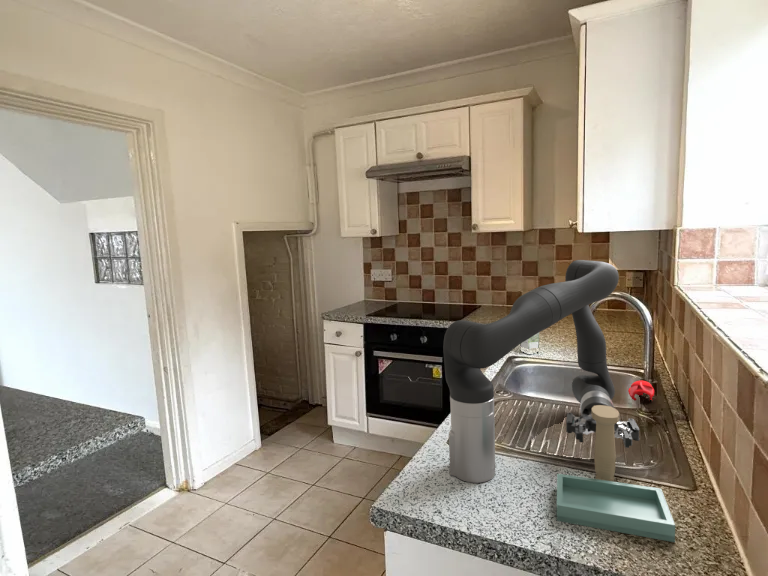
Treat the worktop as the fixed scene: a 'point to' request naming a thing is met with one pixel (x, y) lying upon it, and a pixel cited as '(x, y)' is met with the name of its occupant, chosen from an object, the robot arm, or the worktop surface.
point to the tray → (614, 507)
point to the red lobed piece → (641, 389)
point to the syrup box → (531, 342)
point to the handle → (605, 441)
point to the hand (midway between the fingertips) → (603, 440)
